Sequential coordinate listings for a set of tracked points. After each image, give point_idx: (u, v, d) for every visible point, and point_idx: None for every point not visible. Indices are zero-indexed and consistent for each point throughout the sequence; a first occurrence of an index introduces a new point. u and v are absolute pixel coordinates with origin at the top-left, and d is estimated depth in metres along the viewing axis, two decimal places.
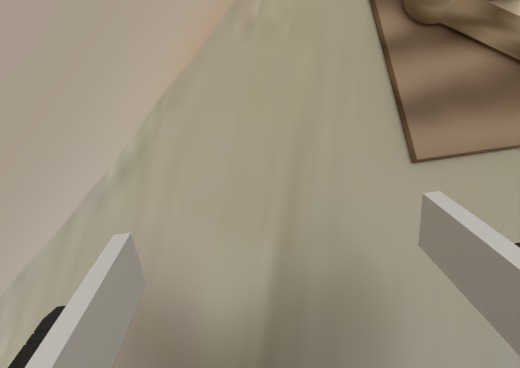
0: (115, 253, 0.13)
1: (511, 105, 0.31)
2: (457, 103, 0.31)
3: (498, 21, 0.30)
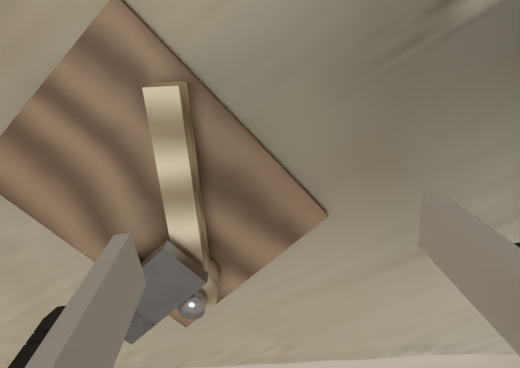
0: (115, 253, 0.13)
1: (242, 178, 0.35)
2: (266, 213, 0.37)
3: (202, 240, 0.34)
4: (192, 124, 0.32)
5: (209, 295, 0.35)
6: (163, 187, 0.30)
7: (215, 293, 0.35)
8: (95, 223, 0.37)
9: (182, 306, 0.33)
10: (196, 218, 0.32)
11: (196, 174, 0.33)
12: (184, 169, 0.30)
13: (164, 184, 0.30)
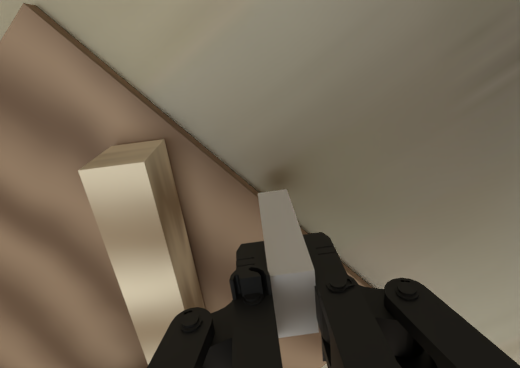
0: (272, 204, 0.15)
1: None
2: None
3: None
4: (179, 203, 0.20)
5: None
6: (137, 320, 0.18)
7: None
8: (48, 347, 0.25)
9: None
10: None
11: (192, 281, 0.20)
12: (169, 292, 0.17)
13: (138, 316, 0.18)
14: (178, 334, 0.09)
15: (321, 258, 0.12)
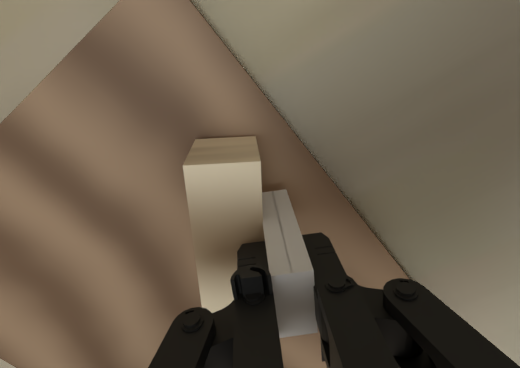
0: (273, 204, 0.15)
1: None
2: None
3: None
4: None
5: None
6: None
7: None
8: (84, 351, 0.22)
9: None
10: None
11: None
12: None
13: None
14: (179, 334, 0.09)
15: (320, 258, 0.12)
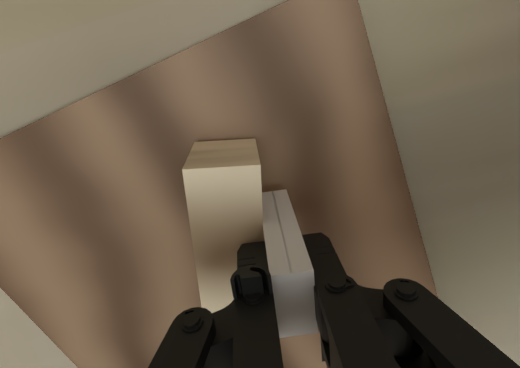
0: (273, 204, 0.15)
1: None
2: None
3: None
4: None
5: None
6: None
7: None
8: (115, 322, 0.21)
9: None
10: None
11: None
12: None
13: None
14: (179, 334, 0.09)
15: (320, 258, 0.12)
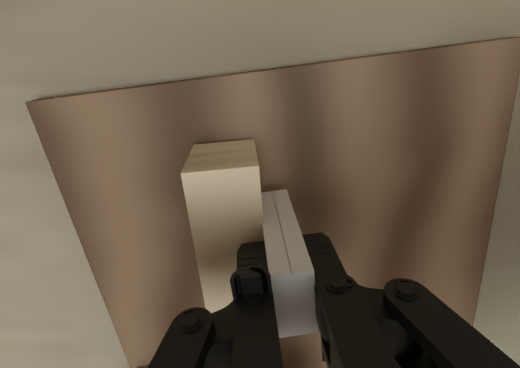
0: (272, 204, 0.15)
1: None
2: None
3: None
4: None
5: None
6: None
7: None
8: (175, 295, 0.20)
9: None
10: None
11: None
12: None
13: None
14: (179, 334, 0.09)
15: (320, 258, 0.12)
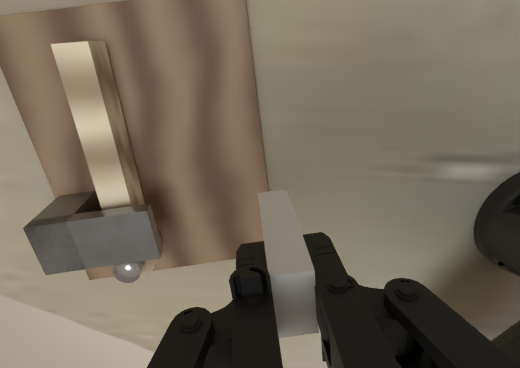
0: (272, 204, 0.15)
1: (233, 186, 0.38)
2: (231, 223, 0.40)
3: (135, 203, 0.34)
4: None
5: None
6: (86, 148, 0.30)
7: None
8: (76, 144, 0.35)
9: (120, 265, 0.34)
10: (124, 179, 0.32)
11: (123, 137, 0.33)
12: (104, 129, 0.30)
13: (86, 145, 0.30)
14: (178, 334, 0.09)
15: (321, 258, 0.12)
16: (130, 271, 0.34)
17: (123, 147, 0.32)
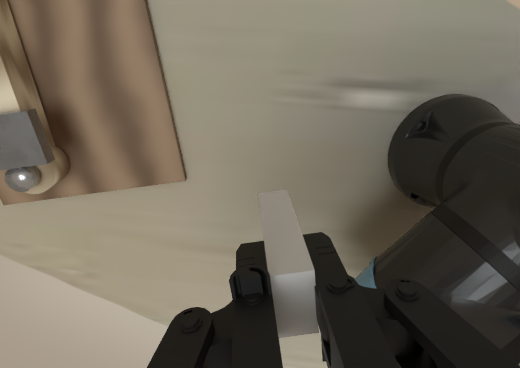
0: (272, 204, 0.15)
1: (135, 107, 0.39)
2: (138, 148, 0.41)
3: None
4: None
5: (43, 172, 0.37)
6: None
7: (49, 170, 0.37)
8: None
9: (11, 172, 0.35)
10: (10, 85, 0.33)
11: (14, 46, 0.34)
12: None
13: None
14: (177, 334, 0.09)
15: (321, 258, 0.12)
16: (22, 179, 0.35)
17: (12, 56, 0.34)
